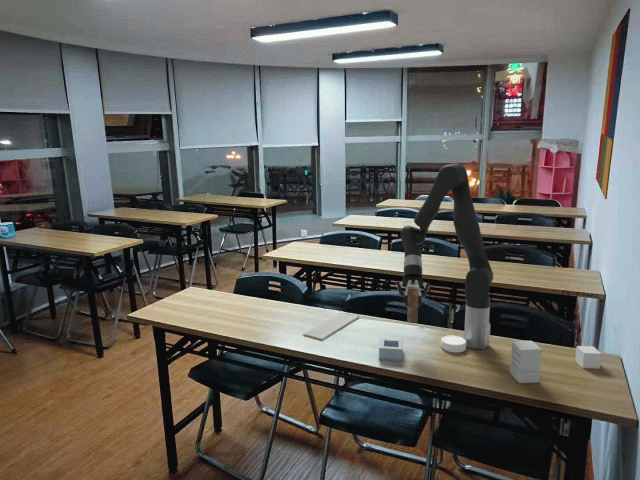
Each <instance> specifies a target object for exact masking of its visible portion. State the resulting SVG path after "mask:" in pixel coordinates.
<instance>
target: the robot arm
mask: <svg viewBox="0 0 640 480" xmlns="http://www.w3.org/2000/svg"><path fill="white" fill-rule="evenodd" d="M468 175H469V174H468V172H467V169H466V168H465V167H464V165H462V164H460V163H451V164H446V165H444V166H443V167H441V168H440V169H439V171H438V173H437V176H436V177H435V181H434V182H433V185H432V187H431V189H430V192H428V193H429V194H428V195H427V197H426V199H425V201H424V203H423V204H422V206H421V207H420V208H419V210H418V212H417V213H416V215H415V217H414V218H413V222H414V224H415V225H416V226H417V227H415V226H412V225H405V226H403V227H402V229H401V231H400V239H401V243H402V247H403V249H404V259H403V260H404V261H403V279H402V281H397V280H396V283H395V285H396V288H397V291H398V294H399V296H400V297H401V298H402V297H403V298H404V301H403V303H404V304H403V305H404V306H406V308H408V283H412V284H418V285H419V289H418V308H420V307H421V306H422V299H423V298H426V296H427V294H428V292H429V289H430V285H431V283H430V282H426V281H425V282H424V279H423V260H422V247H420V245H422V244H423V243H424V242H425V240H426V238H427V234H428V231H429V228H430V226H431V224H432V222H433V221H434V219H436V216H437V215H438V213H439V210H440V208H441V204H442V202H443V200H444V198H445V197H446V195H447V194H448V193H449V192H451V195H452V198H453V212H452V216H453V217H452V219H453V220H452V221H453V226H454V231H455V233H456V237H457V239H458V241H459V243H460V245H461V247H462V248H463V250H464V251H465V254H466V256H467V259H468V260H467V261H468V265H469V270H468V272H467V273H466V276H465V283H464V284H465V285H464V299H465V315H464V334H463V338H464V339H465V340H466V342H467V343H466V348H470V349H475V350H483V351H484V350H485V349H487V348H488V347H489V345H490V340H491V339H490V336H491V322H490V312H491V311H490V309H491V299H490V286H491V284H492V282H493V279H494V273H493V269H492V267H491V265H490V262H489V259H488V257H487V254H486V250H485V244H484V240H483V236H482V232H481V228H480V224H479V220H478V216H477V214H476V210H475V206H474V203H473V199H472V195H471V190H470V183H469V182H470V181H469V176H468ZM418 227H419V228H418ZM403 286H404V288H405V290H404V291H405V292H404V291H403V289H402V287H403ZM422 287H423V288H424V290H423V292H421V288H422Z"/></svg>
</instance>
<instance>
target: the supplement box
mask: <svg viewBox="0 0 640 480" xmlns="http://www.w3.org/2000/svg"><path fill="white" fill-rule="evenodd" d="M510 353H511V356H510V357H511V358H510V368H509V369H510V370H509V374H510V375H511V376H512V377H513V379H514V380H515V381H516V382H518V383H519V384H529V383H530V384H534V383H540V375H541V363H542V353H543V349H542V348H541V347H540V346H538V345H537V344H536V343H535V342H534V341H532V340H515V341H511V352H510Z"/></svg>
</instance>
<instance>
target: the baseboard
mask: <svg viewBox="0 0 640 480" xmlns="http://www.w3.org/2000/svg"><path fill="white" fill-rule="evenodd" d="M341 311H342V312H341ZM359 315H360V314H359V313H357V315H356V313H350V310H346V312H345V311H343V310H341V309H340V312H338V313H337V314H336V315H334V316H332V317H331V318H329V319H327V320H326V321H324V322H322V323H321V324H318V325H316V326H315V327H313V328H311V329H310V330H308V331H306V332H304V333H303V334H302V336H304V337H308V338H310V339H311V338H312V339H314V340H318V341H324V340H325V339H327V338H328V337H330V336H331V335H333V334H335V333H337V332H338V331H340V330H342V329H343V328H345V327H347V326H348V325H349V324H351V323H353V322H355V321H356V320H358V319H359V318H360V316H359Z"/></svg>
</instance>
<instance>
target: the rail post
mask: <svg viewBox="0 0 640 480" xmlns="http://www.w3.org/2000/svg"><path fill="white" fill-rule="evenodd" d="M418 289H419V285H418V284H412V283H408V307H406V308H407V311H406V312H407V314H406V315H407V316H406V317H407V318H406V322H407V323H413V324H418V321H419V320H418V318H419V317H418V316H419V315H418V313H419V307H418Z"/></svg>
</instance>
